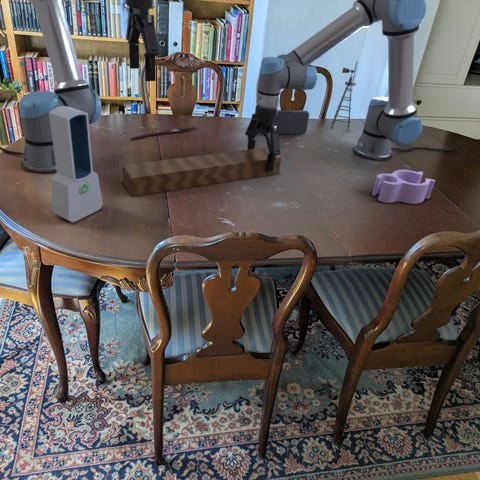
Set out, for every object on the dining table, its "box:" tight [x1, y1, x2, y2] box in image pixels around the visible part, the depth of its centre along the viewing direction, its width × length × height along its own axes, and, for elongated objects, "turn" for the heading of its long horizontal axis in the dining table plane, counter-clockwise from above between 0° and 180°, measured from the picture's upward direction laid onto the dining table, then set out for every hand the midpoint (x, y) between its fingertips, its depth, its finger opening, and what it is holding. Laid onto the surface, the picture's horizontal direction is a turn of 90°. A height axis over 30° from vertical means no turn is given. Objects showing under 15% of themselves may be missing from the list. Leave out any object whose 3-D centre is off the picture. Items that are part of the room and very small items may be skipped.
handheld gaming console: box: [258, 109, 310, 135], centre depth 204 cm, size 23×3×10 cm, turn 108°
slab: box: [121, 146, 282, 197], centre depth 160 cm, size 55×10×6 cm, turn 119°
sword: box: [130, 126, 197, 141], centre depth 193 cm, size 31×3×1 cm, turn 126°
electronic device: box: [49, 106, 104, 224], centre depth 127 cm, size 12×8×30 cm, turn 148°
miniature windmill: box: [331, 61, 358, 131], centre depth 214 cm, size 9×8×30 cm
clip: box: [371, 169, 436, 205], centre depth 162 cm, size 20×12×7 cm, turn 109°
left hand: (142, 74), depth 133 cm, fingers open, 13 cm apart
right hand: (259, 163), depth 170 cm, fingers open, 13 cm apart
